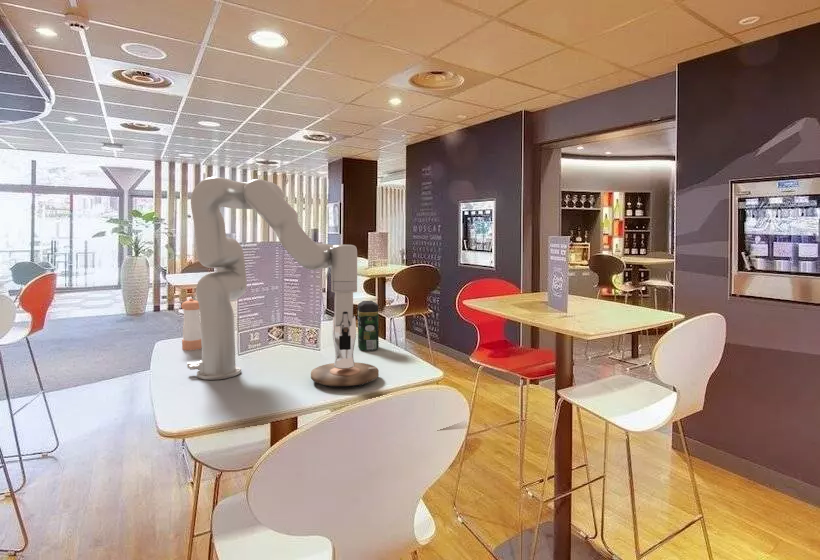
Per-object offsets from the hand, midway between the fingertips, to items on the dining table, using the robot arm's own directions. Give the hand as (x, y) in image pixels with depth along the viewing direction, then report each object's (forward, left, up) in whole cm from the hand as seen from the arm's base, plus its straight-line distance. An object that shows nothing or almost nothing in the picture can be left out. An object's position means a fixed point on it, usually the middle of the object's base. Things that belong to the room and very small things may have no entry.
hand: (344, 345), depth 134 cm
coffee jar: (+11, +38, -11) cm, 41 cm away
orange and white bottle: (-55, +50, -11) cm, 75 cm away
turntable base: (0, 0, -10) cm, 10 cm away
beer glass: (0, 0, -6) cm, 6 cm away
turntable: (0, 0, -9) cm, 9 cm away
